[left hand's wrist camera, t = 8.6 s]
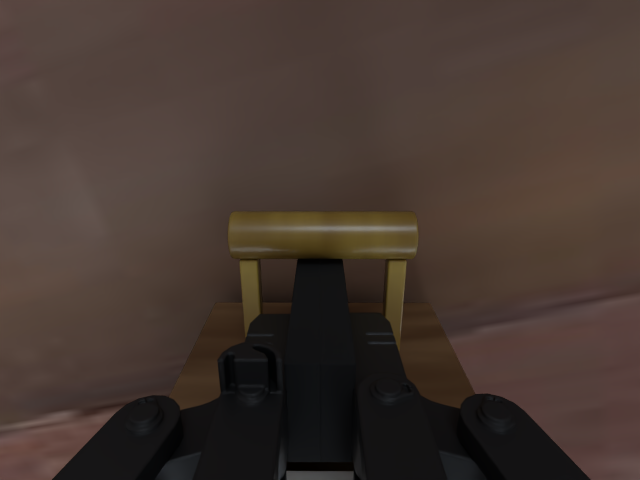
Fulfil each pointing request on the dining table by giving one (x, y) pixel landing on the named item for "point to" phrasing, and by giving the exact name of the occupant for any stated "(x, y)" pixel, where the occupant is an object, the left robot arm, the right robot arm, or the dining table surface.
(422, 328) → the drawer
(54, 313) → the dining table surface
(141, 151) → the dining table surface
